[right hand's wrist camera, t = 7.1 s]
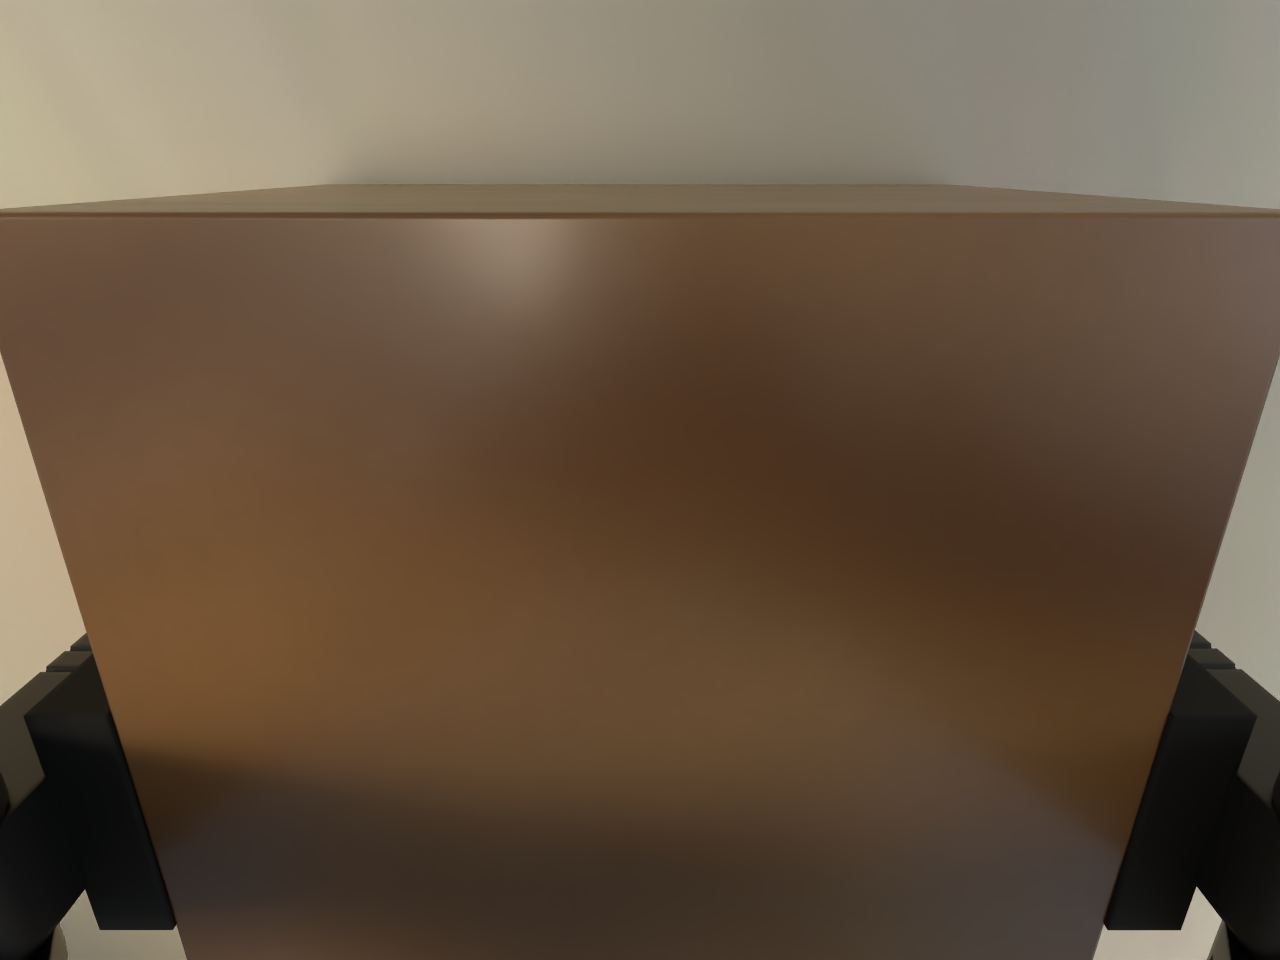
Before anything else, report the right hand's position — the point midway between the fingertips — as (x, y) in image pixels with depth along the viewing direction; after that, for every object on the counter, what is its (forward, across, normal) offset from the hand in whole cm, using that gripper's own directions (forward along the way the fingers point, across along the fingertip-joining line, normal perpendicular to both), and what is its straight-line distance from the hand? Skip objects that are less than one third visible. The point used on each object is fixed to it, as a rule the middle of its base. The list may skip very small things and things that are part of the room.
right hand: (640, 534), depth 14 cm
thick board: (+1, 0, -23) cm, 23 cm away
